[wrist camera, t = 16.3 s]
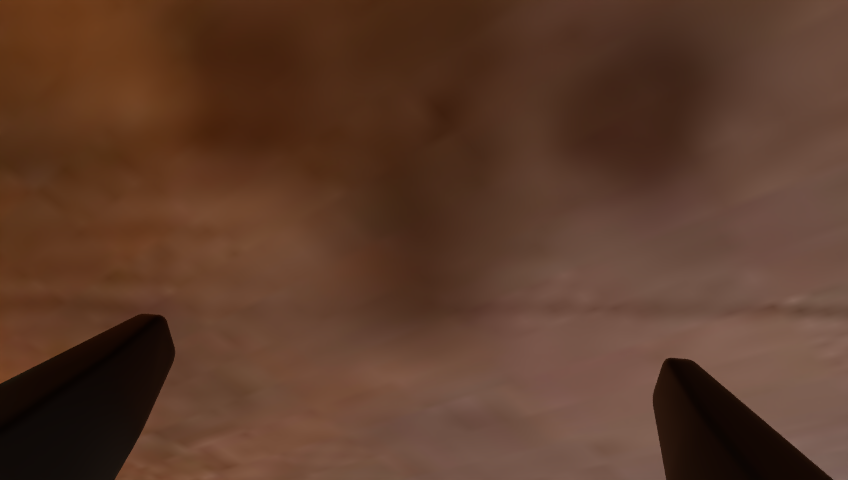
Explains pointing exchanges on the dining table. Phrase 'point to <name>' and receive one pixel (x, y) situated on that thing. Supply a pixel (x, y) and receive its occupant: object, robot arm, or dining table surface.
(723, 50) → the dining table surface
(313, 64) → the dining table surface
